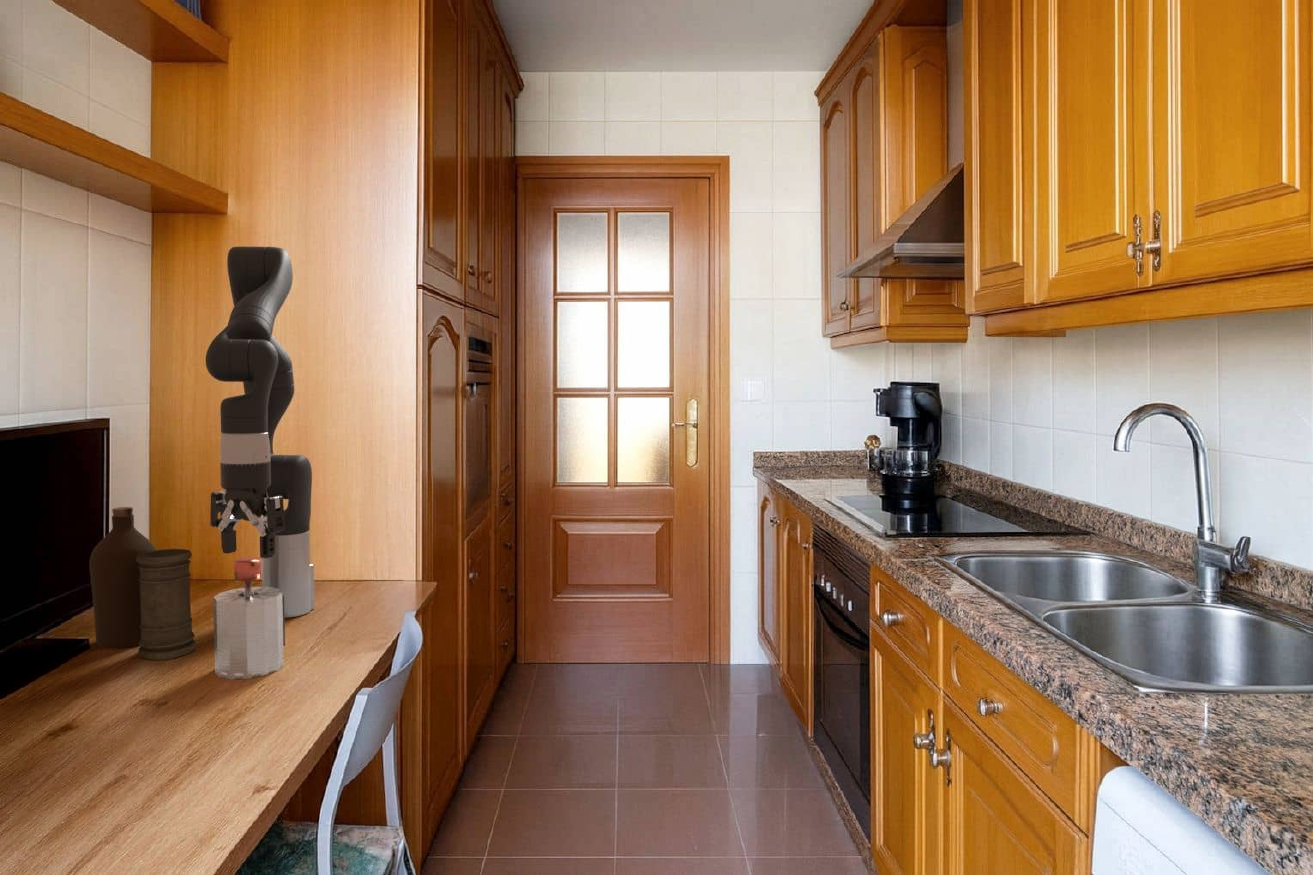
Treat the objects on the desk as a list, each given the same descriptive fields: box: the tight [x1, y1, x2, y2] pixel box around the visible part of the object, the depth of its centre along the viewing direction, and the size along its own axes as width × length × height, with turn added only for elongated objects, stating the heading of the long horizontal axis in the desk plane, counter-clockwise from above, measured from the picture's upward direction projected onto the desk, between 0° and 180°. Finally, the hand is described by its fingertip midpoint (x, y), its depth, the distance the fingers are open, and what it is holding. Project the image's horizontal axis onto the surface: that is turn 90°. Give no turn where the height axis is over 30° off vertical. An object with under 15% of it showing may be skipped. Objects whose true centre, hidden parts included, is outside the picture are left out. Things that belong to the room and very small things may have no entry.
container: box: [136, 548, 197, 661], centre depth 145 cm, size 9×9×18 cm
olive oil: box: [88, 506, 157, 650], centre depth 150 cm, size 11×11×25 cm
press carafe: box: [213, 586, 286, 680], centre depth 139 cm, size 12×10×13 cm
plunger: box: [233, 557, 262, 597], centre depth 138 cm, size 7×7×17 cm
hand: (248, 555), depth 137 cm, fingers open, 8 cm apart
